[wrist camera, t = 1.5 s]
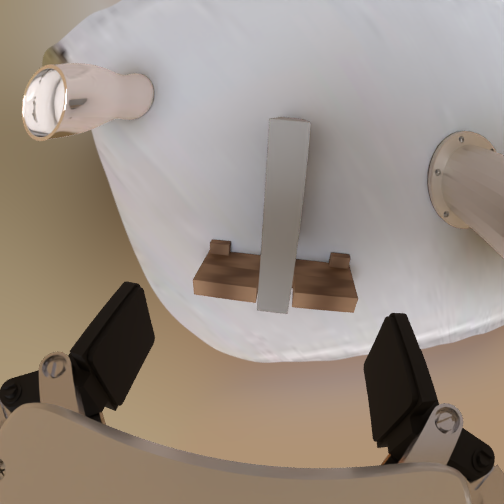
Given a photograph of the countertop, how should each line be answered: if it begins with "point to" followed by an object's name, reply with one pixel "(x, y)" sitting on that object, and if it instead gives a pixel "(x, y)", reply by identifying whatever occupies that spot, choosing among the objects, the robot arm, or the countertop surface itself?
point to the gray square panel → (282, 210)
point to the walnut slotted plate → (304, 281)
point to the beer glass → (81, 99)
